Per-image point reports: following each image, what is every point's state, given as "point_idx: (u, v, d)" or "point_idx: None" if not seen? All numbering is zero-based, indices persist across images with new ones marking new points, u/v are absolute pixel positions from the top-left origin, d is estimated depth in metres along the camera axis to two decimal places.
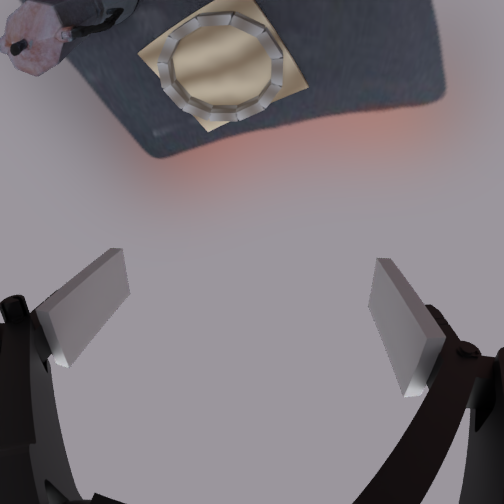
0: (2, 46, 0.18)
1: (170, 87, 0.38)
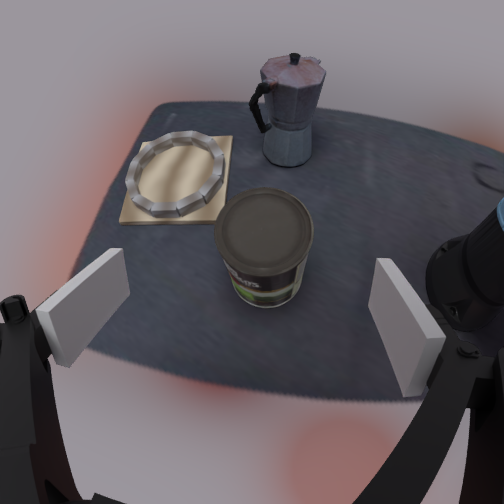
0: (312, 58, 0.39)
1: (189, 135, 0.52)
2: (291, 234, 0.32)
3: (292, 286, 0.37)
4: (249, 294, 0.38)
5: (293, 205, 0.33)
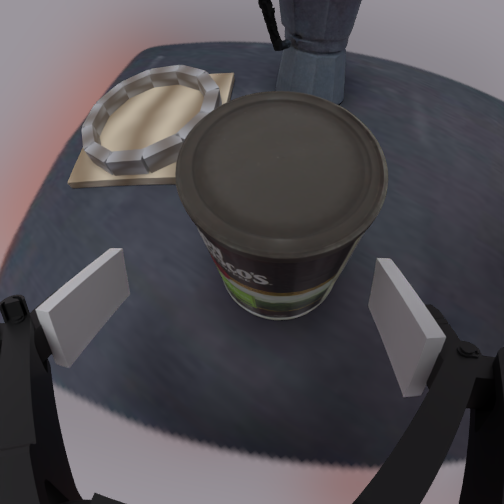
0: None
1: (174, 70, 0.34)
2: (342, 171, 0.14)
3: (329, 284, 0.20)
4: (248, 297, 0.20)
5: (341, 121, 0.15)
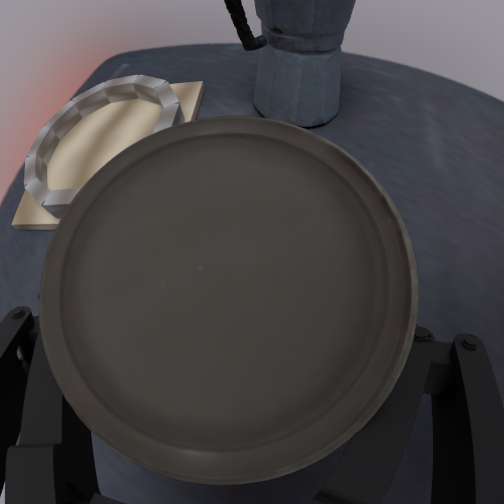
0: None
1: (131, 81, 0.28)
2: (329, 299, 0.07)
3: None
4: None
5: (333, 174, 0.08)
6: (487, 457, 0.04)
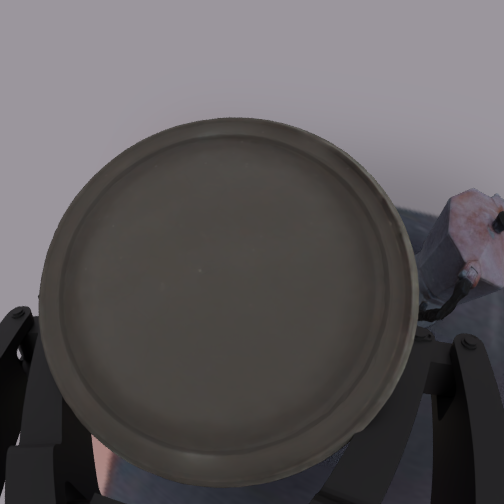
0: (502, 202, 0.21)
1: None
2: (329, 301, 0.07)
3: None
4: None
5: (334, 176, 0.08)
6: (487, 457, 0.04)
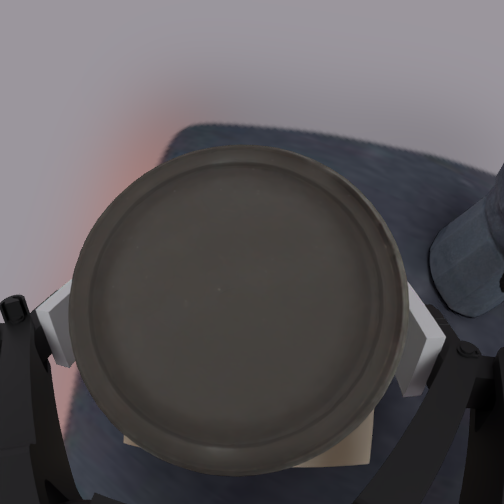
0: None
1: None
2: (331, 316, 0.08)
3: None
4: None
5: (336, 203, 0.09)
6: None
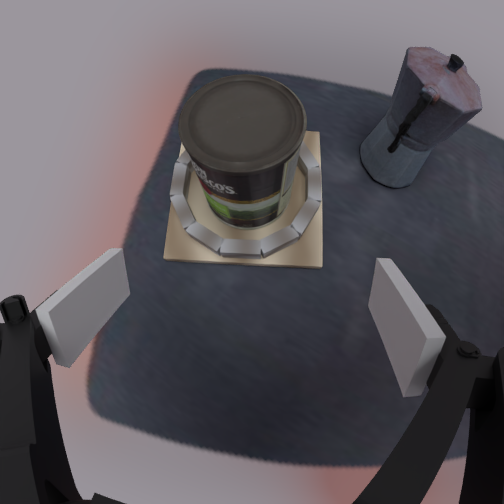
0: None
1: None
2: (277, 124, 0.23)
3: (278, 199, 0.30)
4: (224, 208, 0.30)
5: (281, 93, 0.24)
6: None
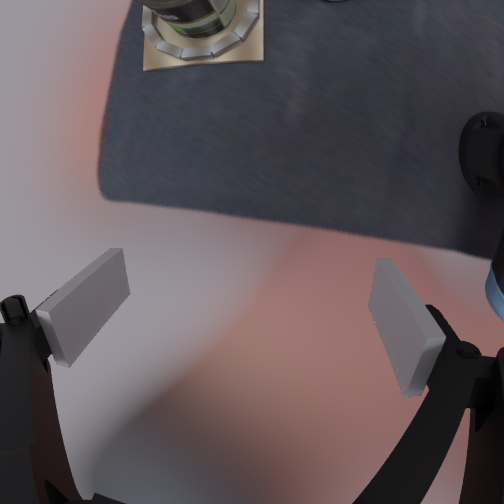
0: None
1: None
2: None
3: (216, 16, 0.30)
4: (178, 28, 0.31)
5: None
6: None
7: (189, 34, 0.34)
